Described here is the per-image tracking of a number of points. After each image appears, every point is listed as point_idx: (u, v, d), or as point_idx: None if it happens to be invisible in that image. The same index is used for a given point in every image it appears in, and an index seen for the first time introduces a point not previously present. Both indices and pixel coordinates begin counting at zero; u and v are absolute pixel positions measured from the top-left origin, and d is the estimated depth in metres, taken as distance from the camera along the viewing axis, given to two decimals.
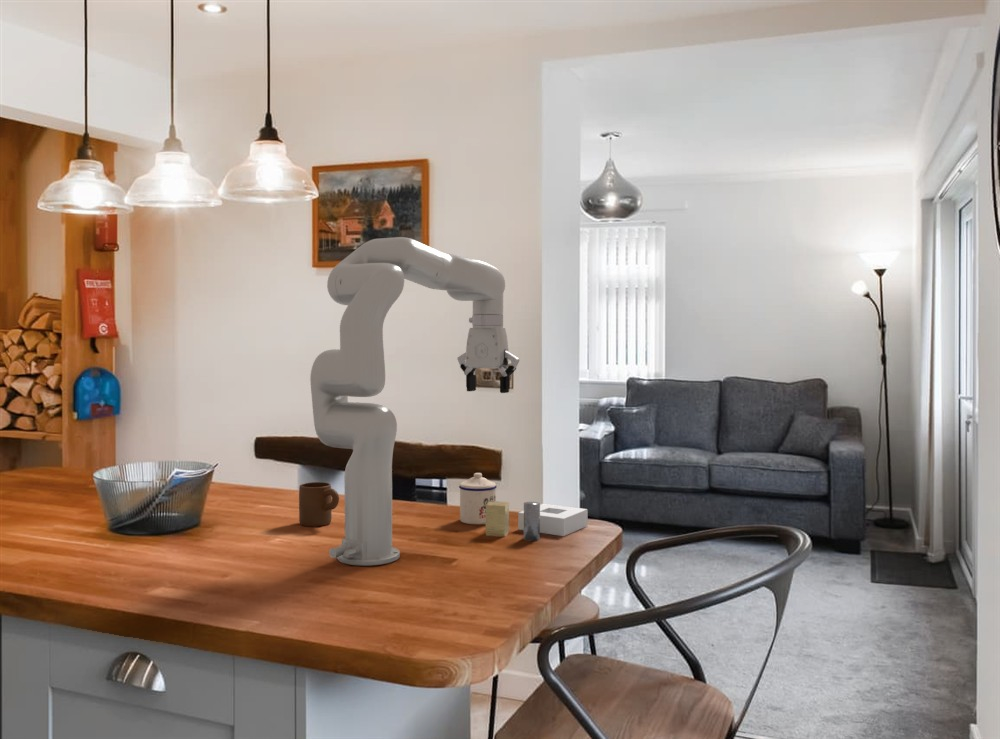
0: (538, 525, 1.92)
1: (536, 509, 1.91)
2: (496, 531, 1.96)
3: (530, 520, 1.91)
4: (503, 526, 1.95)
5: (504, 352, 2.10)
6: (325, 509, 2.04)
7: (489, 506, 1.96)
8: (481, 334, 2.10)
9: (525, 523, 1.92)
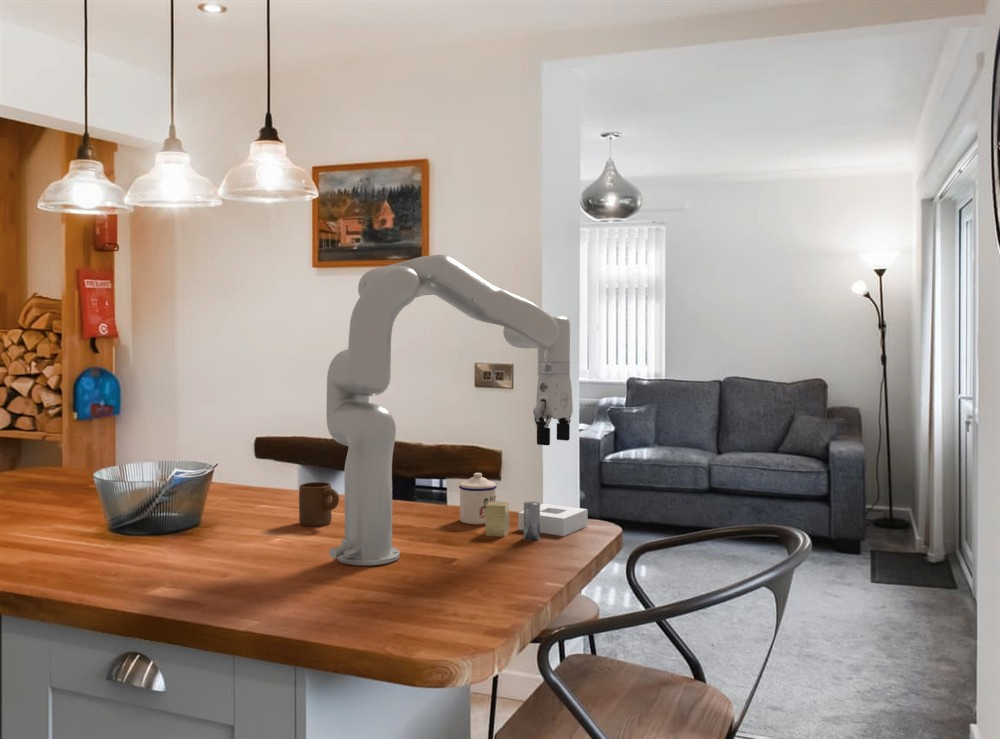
0: (538, 525, 1.92)
1: (536, 509, 1.91)
2: (496, 531, 1.96)
3: (530, 520, 1.91)
4: (503, 526, 1.95)
5: None
6: (325, 509, 2.04)
7: (489, 506, 1.96)
8: (564, 383, 2.01)
9: (525, 523, 1.92)
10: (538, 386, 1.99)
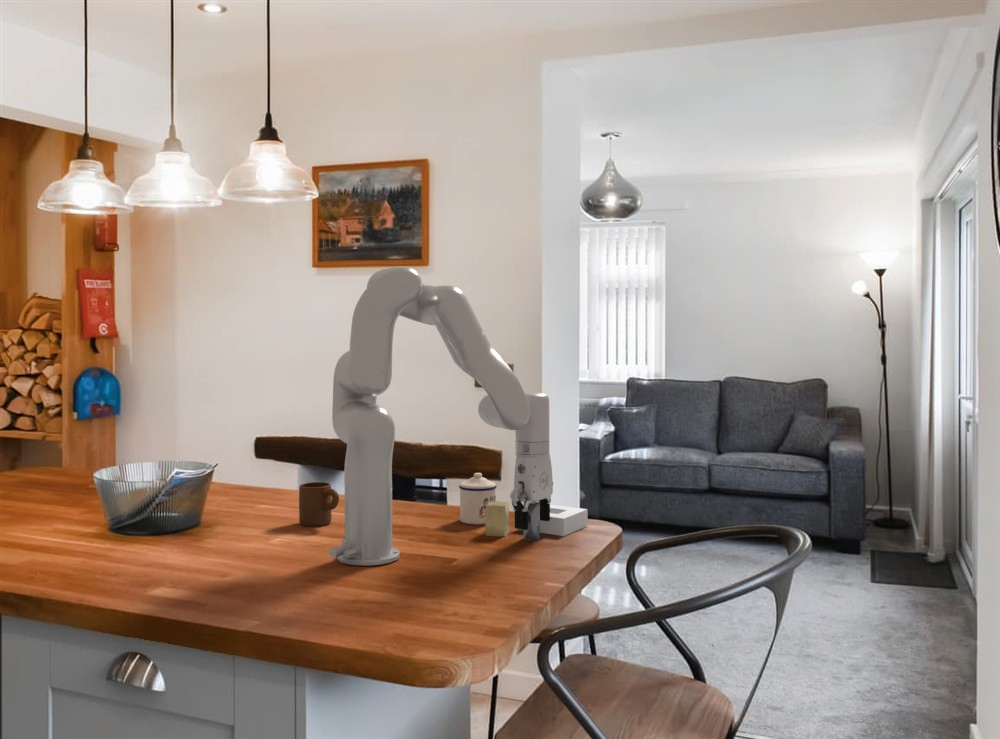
0: (538, 525, 1.92)
1: (536, 509, 1.91)
2: (496, 531, 1.96)
3: (530, 520, 1.91)
4: (503, 526, 1.95)
5: None
6: (325, 509, 2.04)
7: (489, 506, 1.96)
8: (543, 463, 1.91)
9: None
10: (516, 467, 1.90)
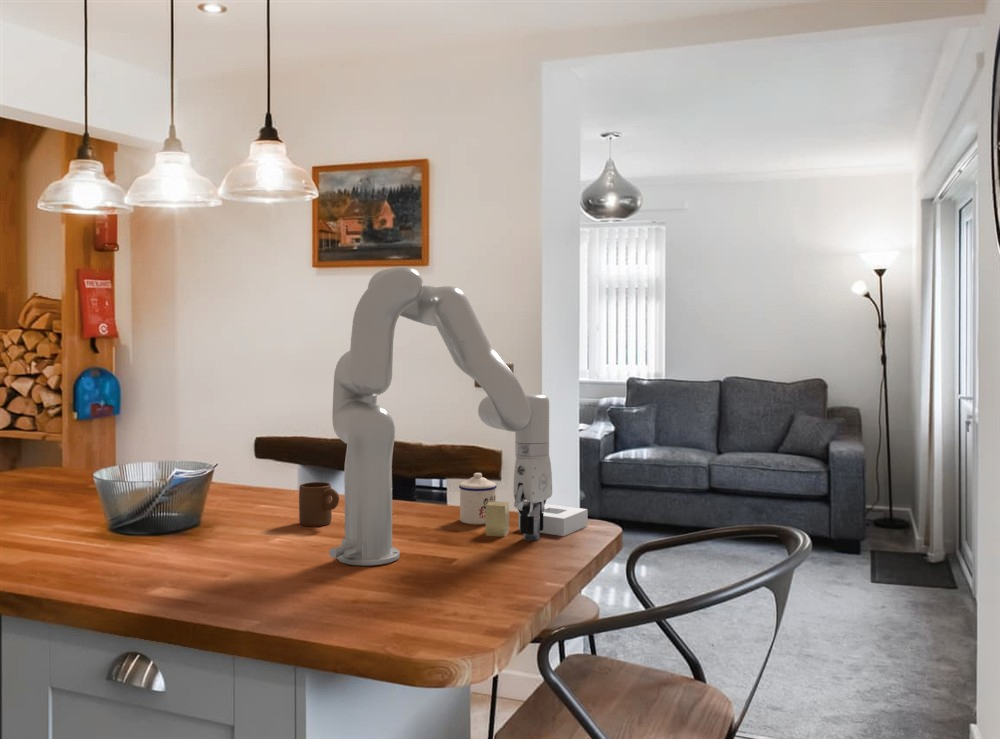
0: (538, 525, 1.92)
1: (536, 509, 1.91)
2: (496, 531, 1.96)
3: None
4: (503, 526, 1.95)
5: None
6: (325, 509, 2.04)
7: (489, 506, 1.96)
8: (543, 464, 1.91)
9: None
10: (515, 468, 1.90)
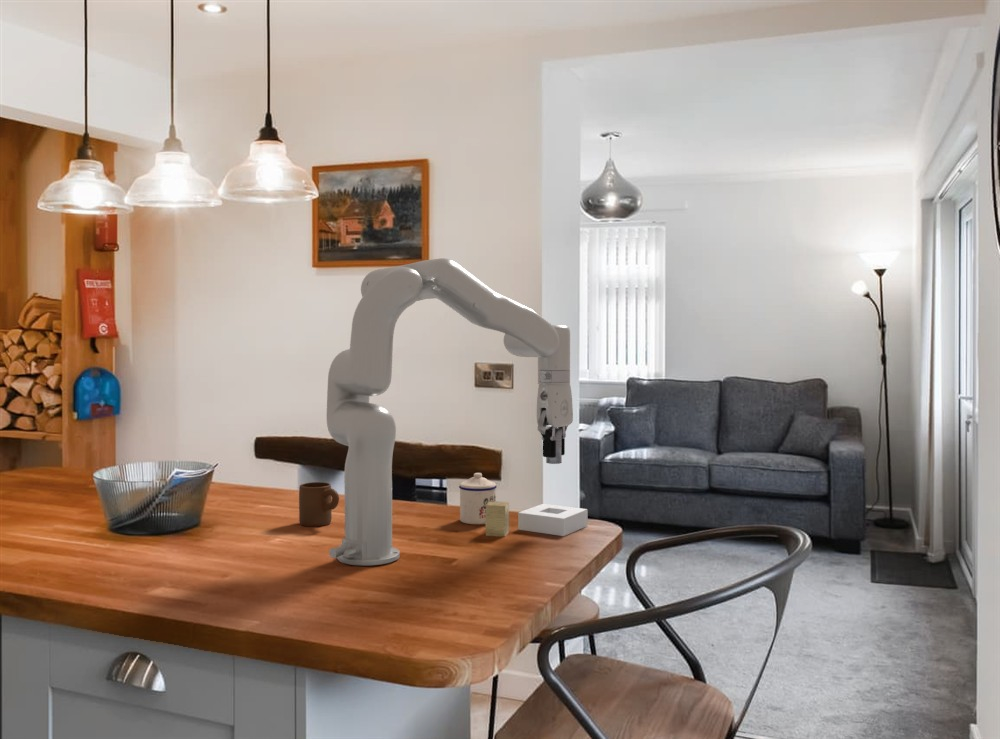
0: (560, 449, 2.02)
1: (558, 434, 2.01)
2: (496, 531, 1.96)
3: None
4: (503, 526, 1.95)
5: None
6: (325, 509, 2.04)
7: (489, 506, 1.96)
8: (564, 391, 2.01)
9: None
10: (538, 395, 1.99)
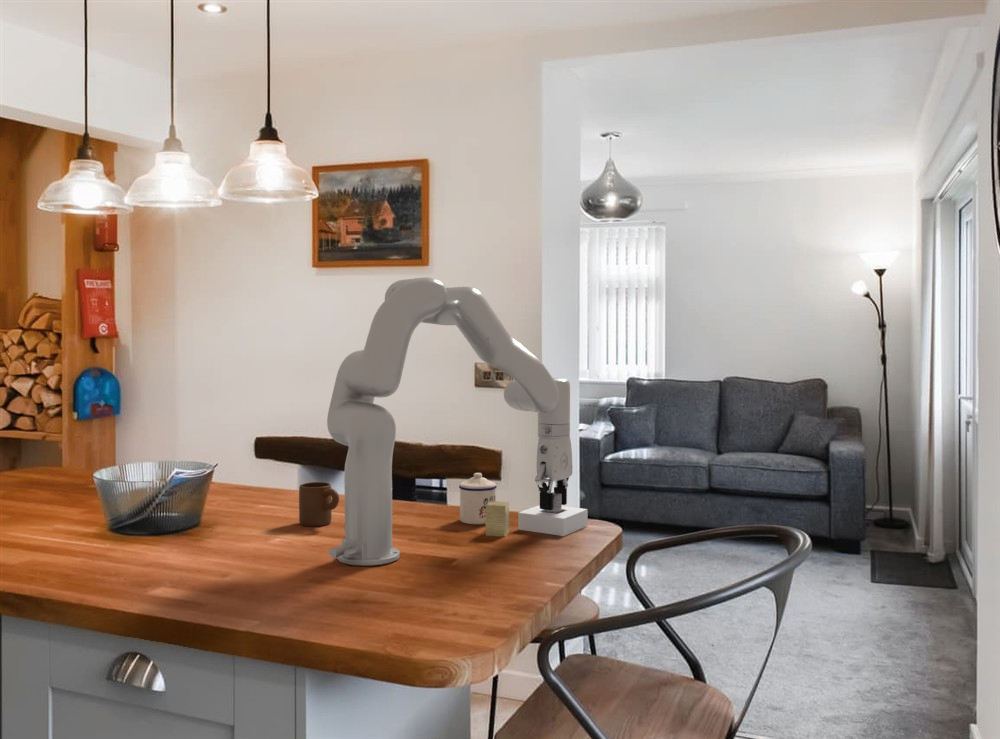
0: None
1: (558, 499, 2.02)
2: (496, 531, 1.96)
3: (553, 509, 2.02)
4: (503, 526, 1.95)
5: None
6: (325, 509, 2.04)
7: (489, 506, 1.96)
8: (564, 444, 2.02)
9: (547, 512, 2.03)
10: (538, 448, 2.00)
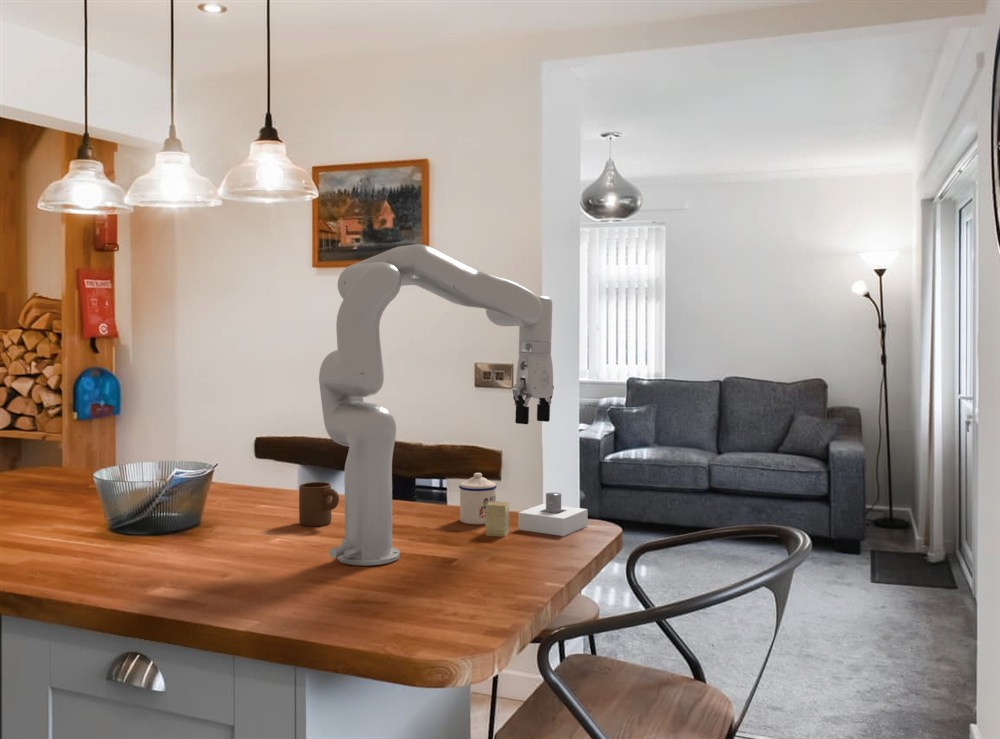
0: None
1: (558, 499, 2.02)
2: (496, 531, 1.96)
3: (552, 510, 2.02)
4: (503, 526, 1.95)
5: None
6: (325, 509, 2.04)
7: (489, 506, 1.96)
8: (544, 362, 2.00)
9: None
10: (518, 365, 1.99)
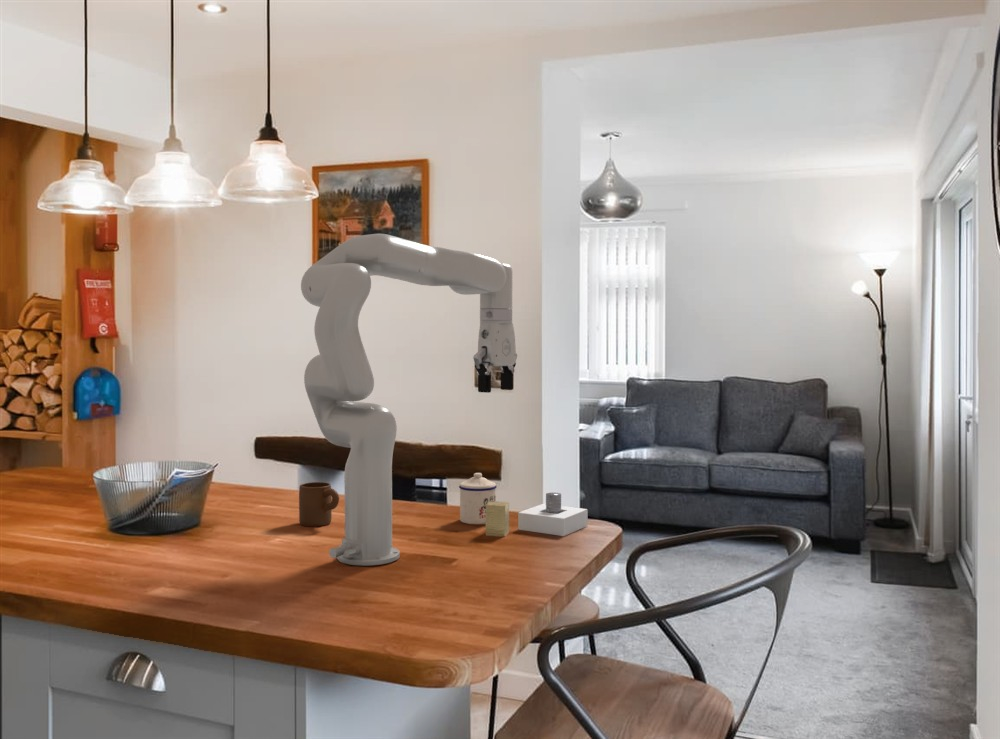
0: None
1: (558, 499, 2.02)
2: (496, 531, 1.96)
3: (552, 510, 2.02)
4: (503, 526, 1.95)
5: None
6: (325, 509, 2.04)
7: (489, 506, 1.96)
8: (506, 330, 1.99)
9: None
10: (479, 333, 1.98)
